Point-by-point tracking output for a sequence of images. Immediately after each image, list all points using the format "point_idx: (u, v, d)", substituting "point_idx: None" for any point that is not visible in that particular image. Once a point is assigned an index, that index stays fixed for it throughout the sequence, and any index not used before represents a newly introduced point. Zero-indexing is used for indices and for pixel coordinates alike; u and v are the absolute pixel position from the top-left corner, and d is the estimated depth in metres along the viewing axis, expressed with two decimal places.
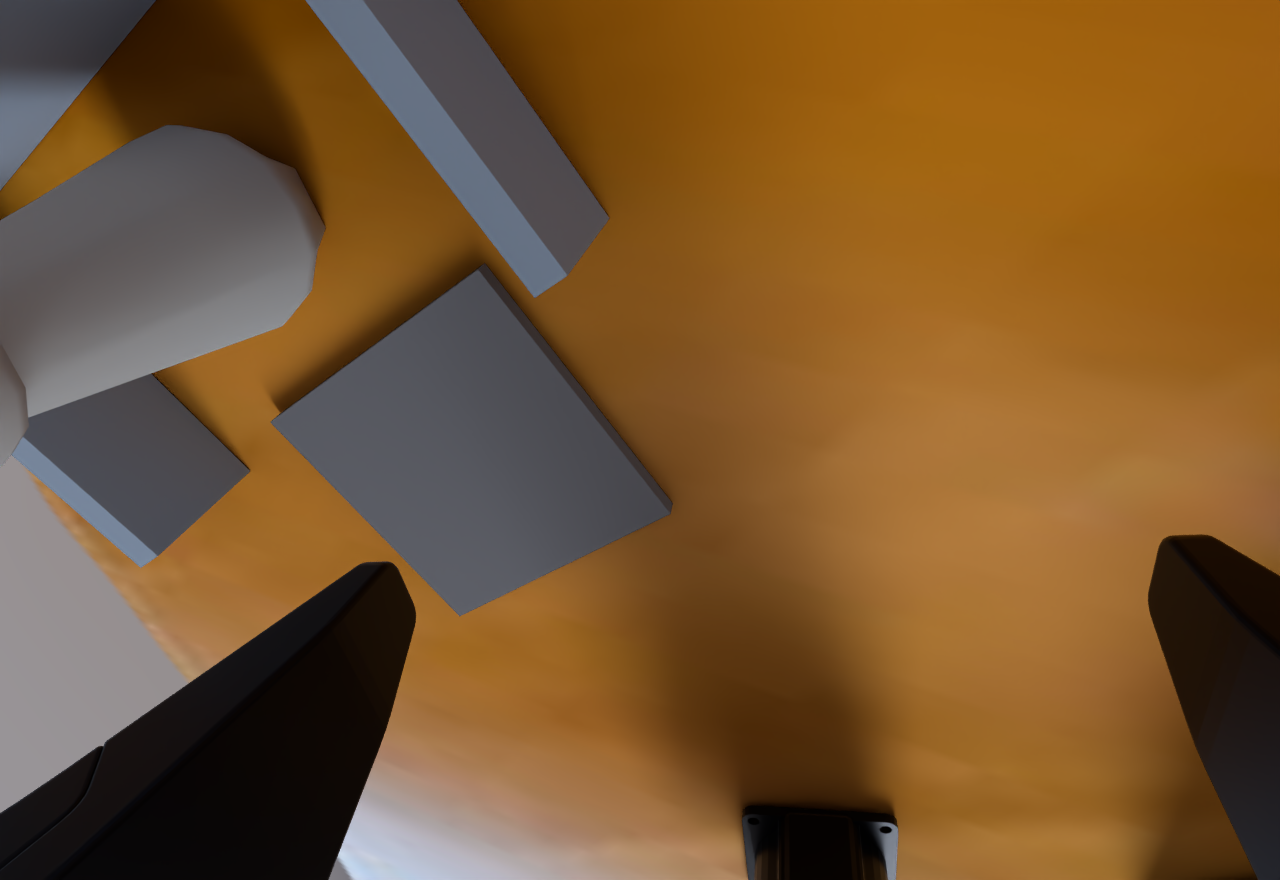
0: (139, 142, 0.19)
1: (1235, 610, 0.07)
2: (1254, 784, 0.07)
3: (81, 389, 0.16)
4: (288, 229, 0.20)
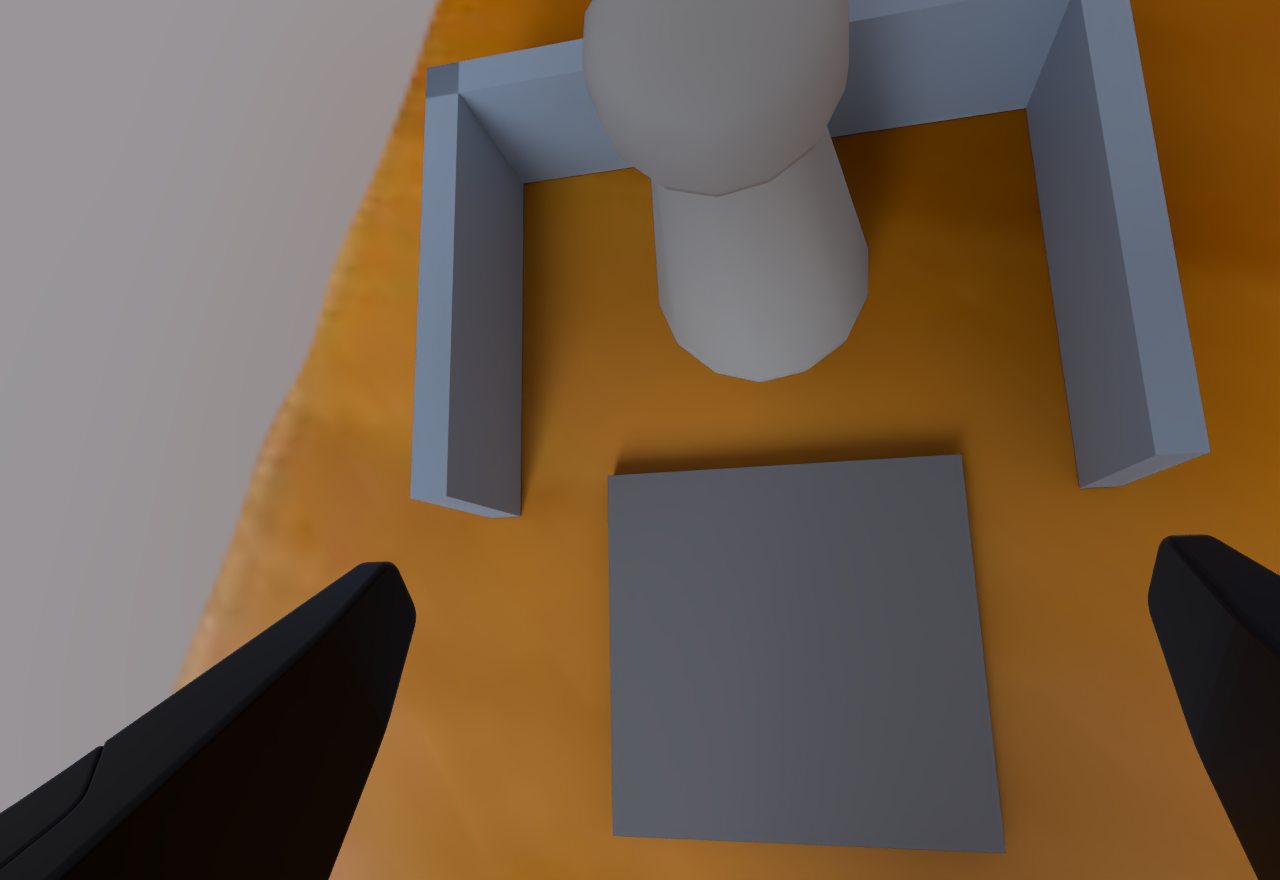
0: None
1: (1235, 610, 0.07)
2: (1254, 783, 0.07)
3: (745, 227, 0.15)
4: (858, 303, 0.20)
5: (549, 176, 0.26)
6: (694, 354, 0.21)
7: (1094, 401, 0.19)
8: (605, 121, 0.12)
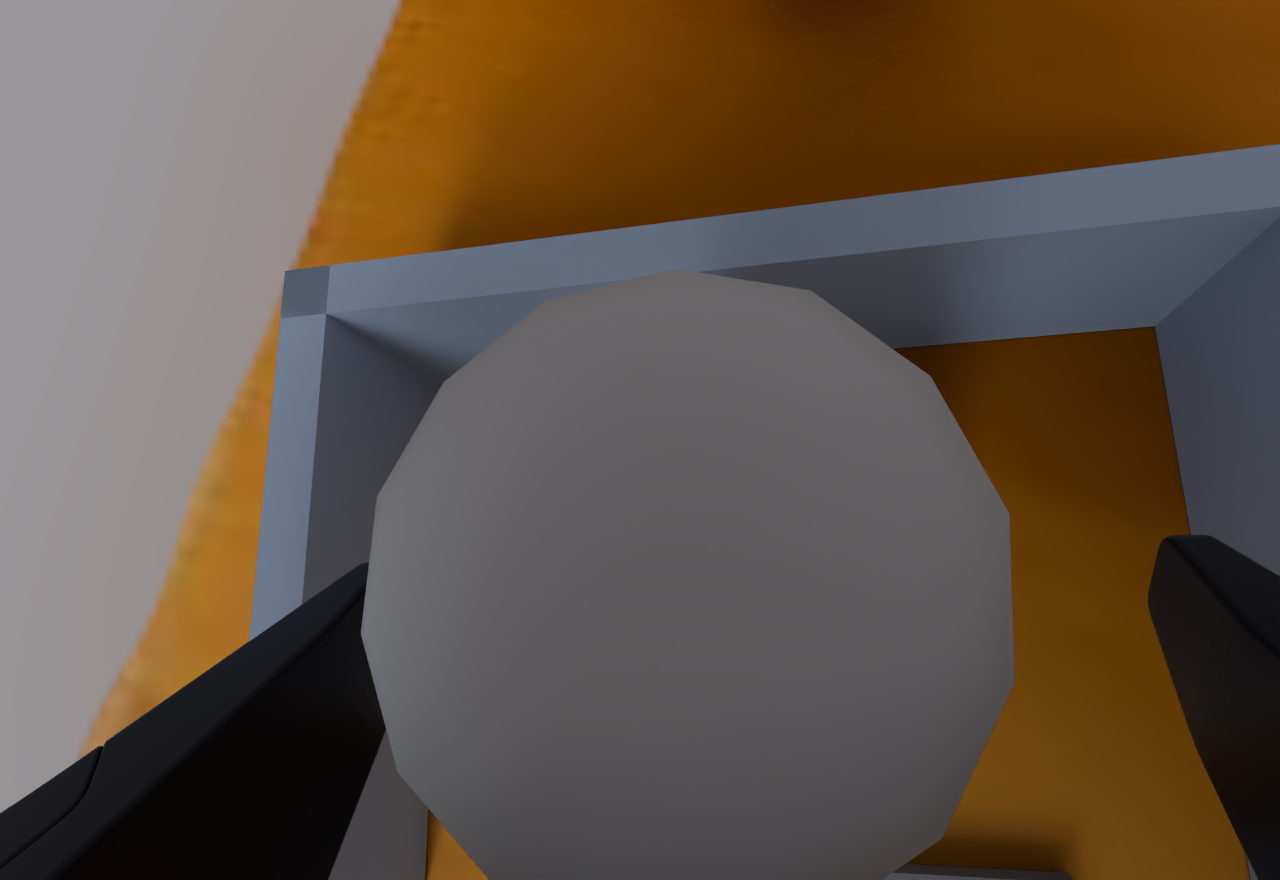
0: None
1: (1235, 610, 0.07)
2: (1254, 784, 0.07)
3: None
4: None
5: None
6: None
7: None
8: None
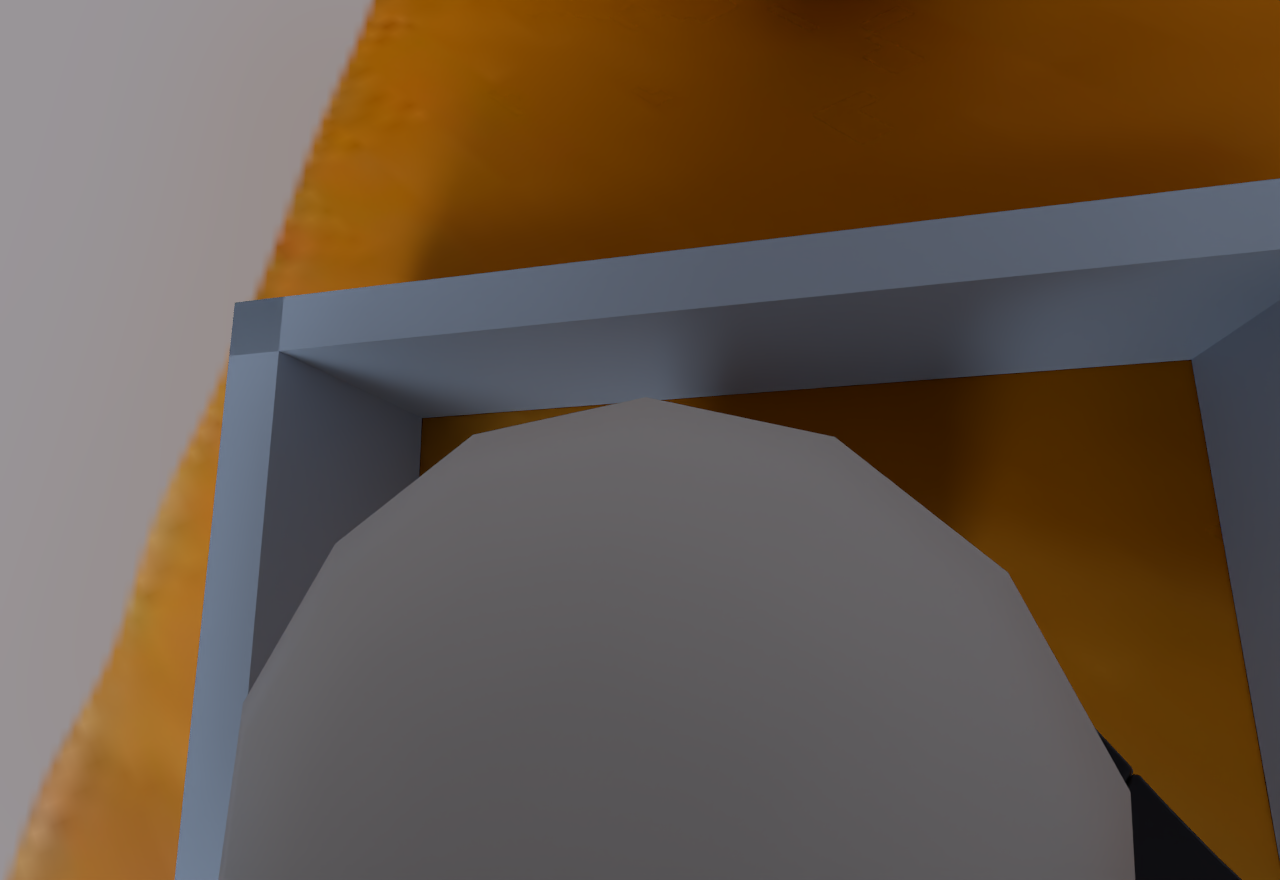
0: None
1: None
2: None
3: None
4: None
5: (458, 413, 0.18)
6: None
7: None
8: None
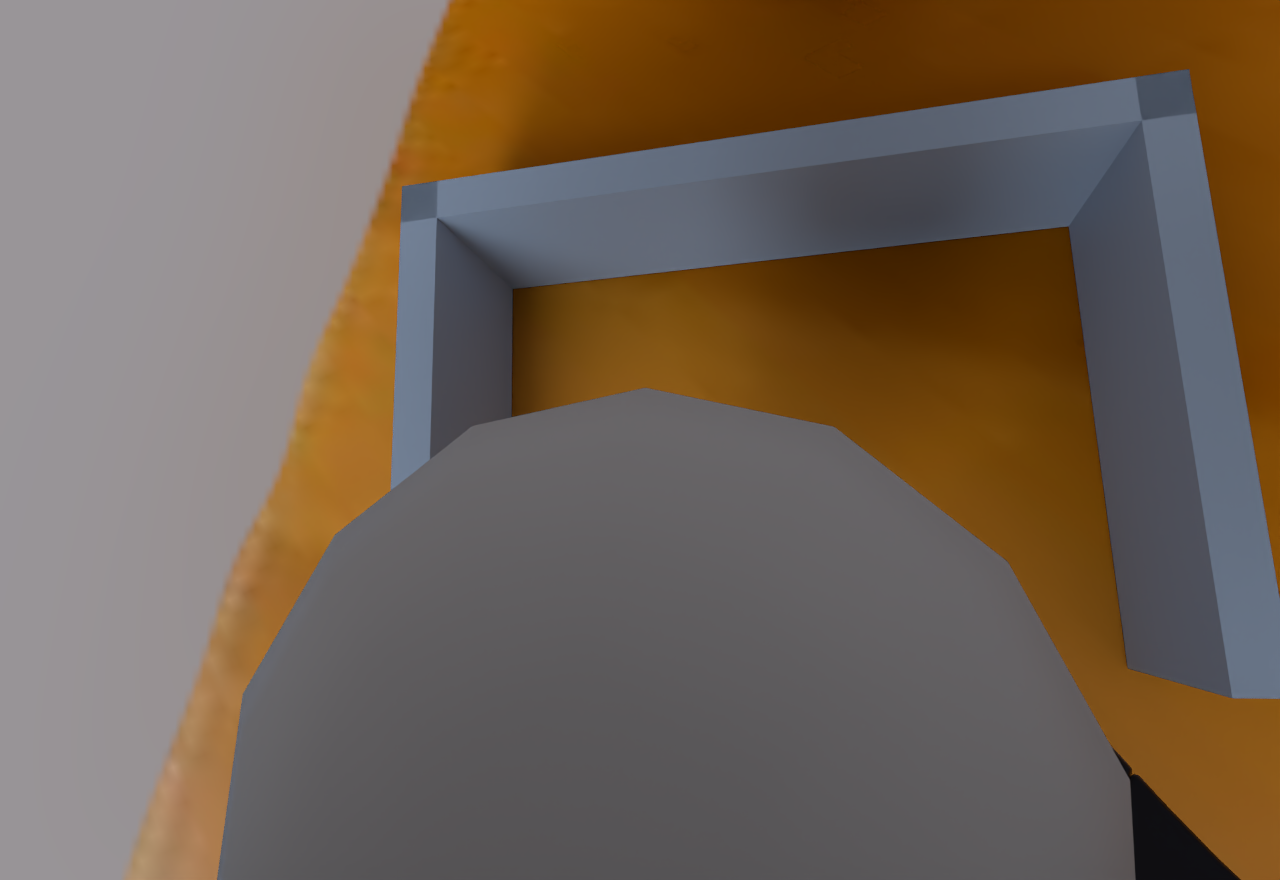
0: None
1: None
2: None
3: None
4: None
5: (541, 283, 0.24)
6: None
7: (1150, 588, 0.17)
8: None
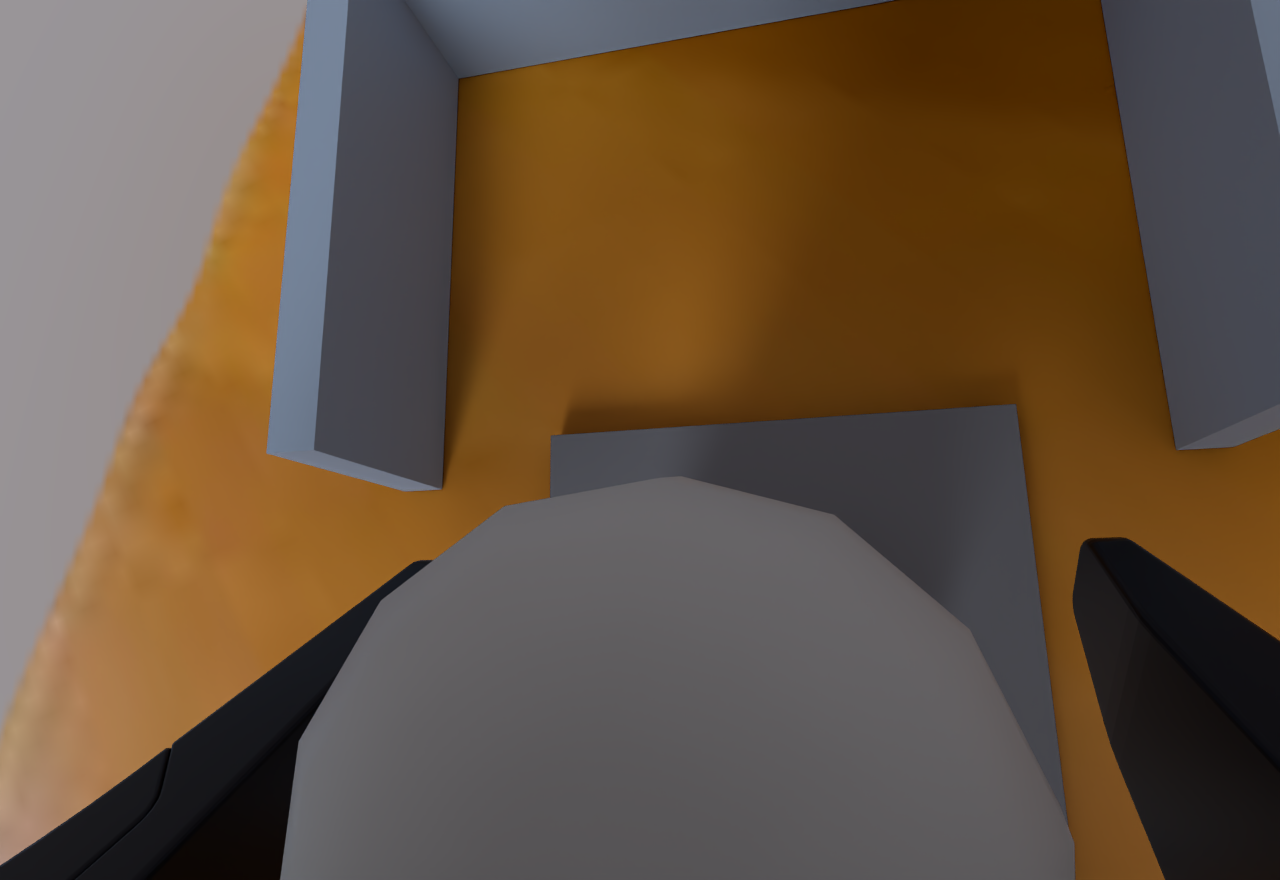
0: None
1: (1139, 611, 0.07)
2: (1157, 781, 0.07)
3: None
4: None
5: (489, 68, 0.21)
6: None
7: (1207, 324, 0.14)
8: None
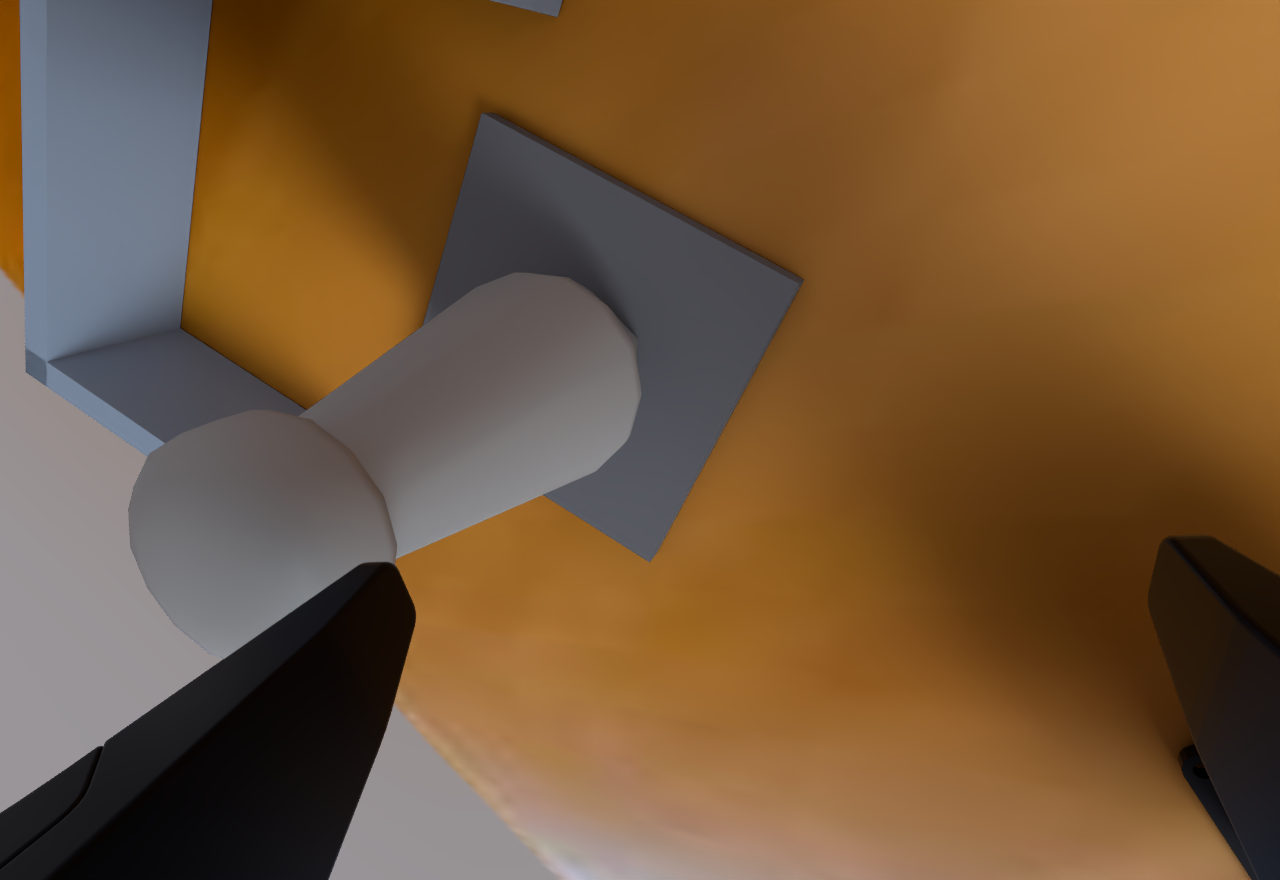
0: (456, 302, 0.20)
1: (1235, 610, 0.07)
2: (1254, 784, 0.07)
3: (445, 516, 0.15)
4: (600, 327, 0.19)
5: (178, 306, 0.29)
6: None
7: None
8: None
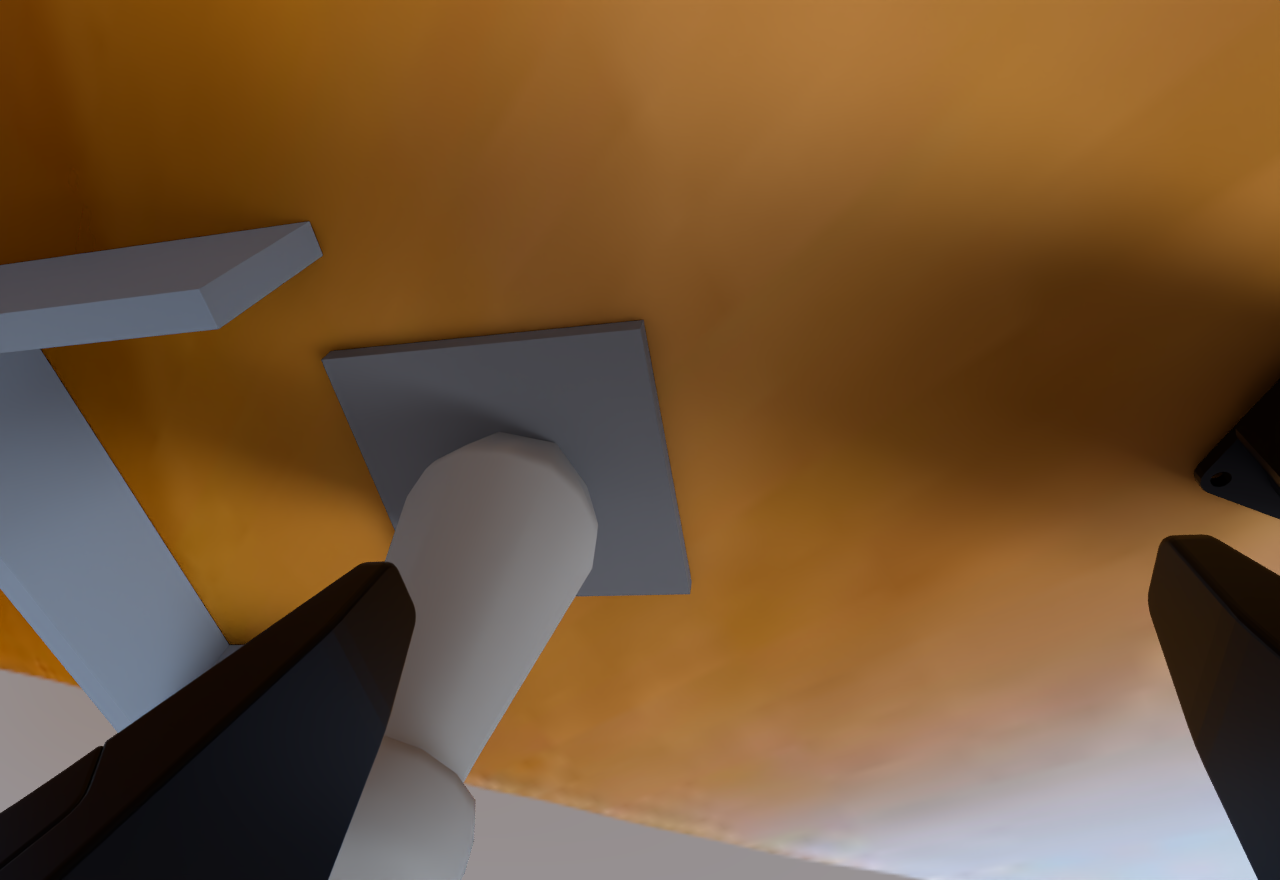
0: (398, 523, 0.22)
1: (1235, 610, 0.07)
2: (1254, 784, 0.07)
3: (485, 713, 0.17)
4: (514, 470, 0.21)
5: (216, 631, 0.32)
6: None
7: None
8: None
